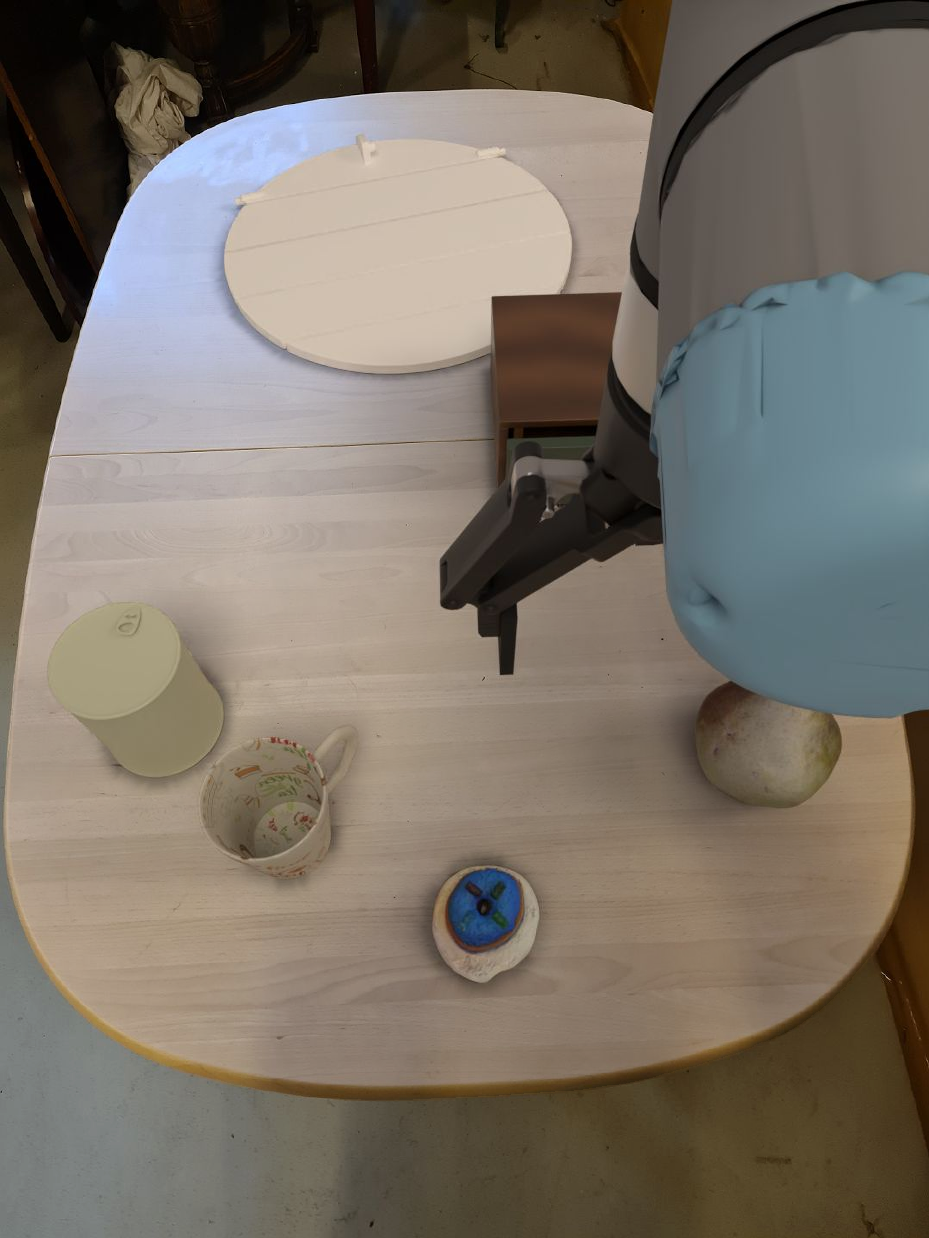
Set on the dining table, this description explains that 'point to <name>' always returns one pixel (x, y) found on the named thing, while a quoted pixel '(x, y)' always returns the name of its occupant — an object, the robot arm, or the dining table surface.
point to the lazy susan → (393, 253)
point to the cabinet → (548, 361)
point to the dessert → (485, 921)
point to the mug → (273, 803)
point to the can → (136, 688)
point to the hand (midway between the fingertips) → (627, 649)
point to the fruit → (764, 747)
